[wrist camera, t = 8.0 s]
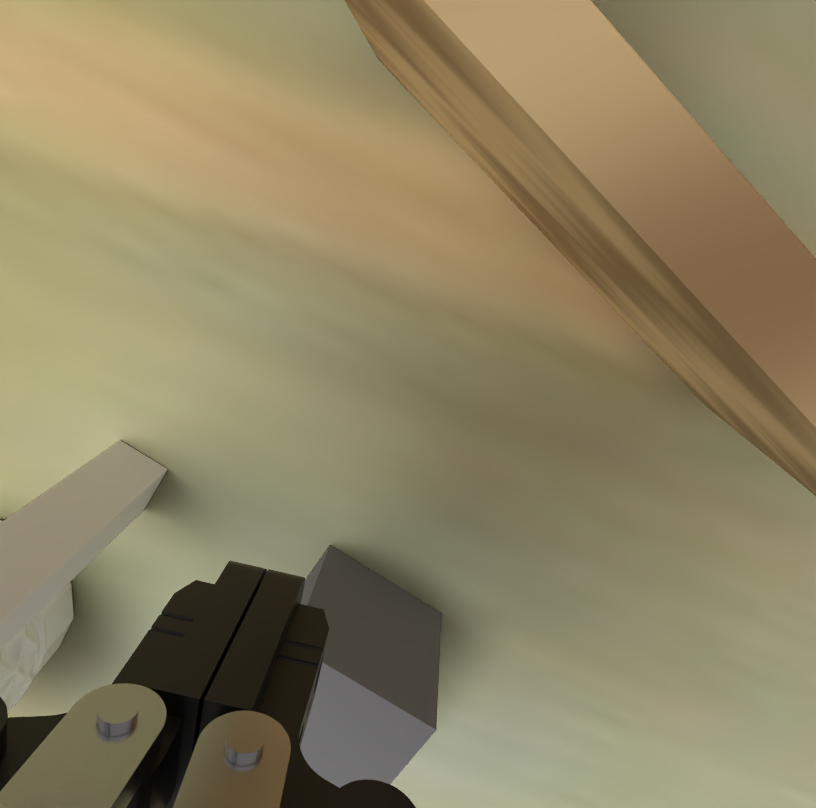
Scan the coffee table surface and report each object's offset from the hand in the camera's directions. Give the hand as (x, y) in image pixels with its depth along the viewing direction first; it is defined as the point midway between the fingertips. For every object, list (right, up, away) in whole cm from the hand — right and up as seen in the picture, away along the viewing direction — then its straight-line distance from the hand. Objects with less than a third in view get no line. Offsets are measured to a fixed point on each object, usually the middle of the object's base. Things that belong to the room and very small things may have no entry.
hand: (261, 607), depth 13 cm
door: (+8, +10, +8) cm, 15 cm away
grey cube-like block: (+1, -5, +13) cm, 14 cm away
